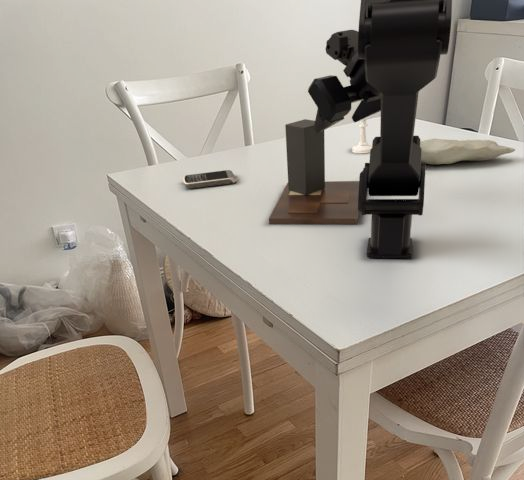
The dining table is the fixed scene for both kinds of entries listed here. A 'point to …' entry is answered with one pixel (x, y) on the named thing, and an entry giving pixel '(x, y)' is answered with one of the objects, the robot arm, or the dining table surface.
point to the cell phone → (209, 179)
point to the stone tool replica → (460, 150)
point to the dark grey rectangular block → (305, 157)
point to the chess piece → (362, 140)
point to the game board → (319, 205)
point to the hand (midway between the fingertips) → (335, 125)
